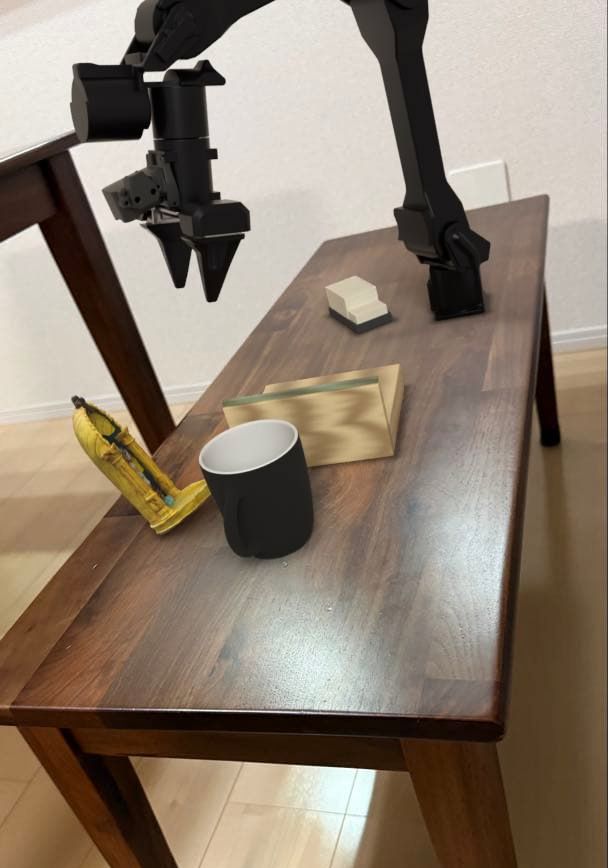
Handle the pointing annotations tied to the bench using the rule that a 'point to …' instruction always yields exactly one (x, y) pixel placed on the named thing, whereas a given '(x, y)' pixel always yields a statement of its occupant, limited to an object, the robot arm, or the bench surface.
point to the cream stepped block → (357, 304)
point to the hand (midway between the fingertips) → (195, 294)
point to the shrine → (134, 469)
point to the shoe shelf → (332, 413)
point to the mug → (260, 487)
